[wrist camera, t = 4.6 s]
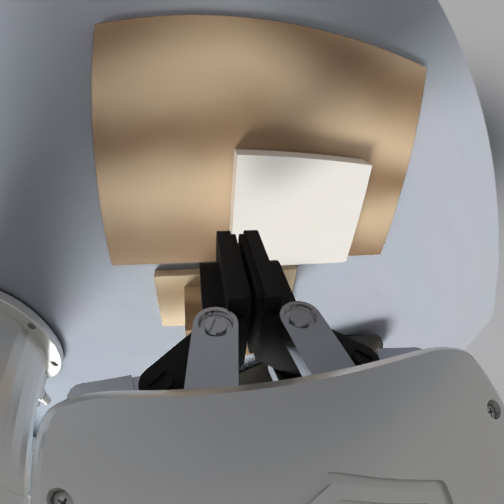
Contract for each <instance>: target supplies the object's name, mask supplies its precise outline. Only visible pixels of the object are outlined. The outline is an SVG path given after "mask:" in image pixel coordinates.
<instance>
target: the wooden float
mask: <svg viewBox="0 0 504 504" xmlns="http://www.w3.org/2000/svg"><path fill="white" fill-rule="evenodd" d="M281 267H282V269H283V272H284V274H285V276H286V279H287V281H288V284H289V286H290V288H291V291H292V290H293V285H294V281H295V276H296V272H297V269H296V267H295V265H281ZM154 279H155V285H156V291H157V297H158V303H159V308H160V314H161V319H162V324H163V326H181V325H185V330H186V336H188V335H189V334H190V333H191V332H192V326H193V321H194V318H195V316H196V315H197V314H198V313H199V312H200V311H202V305H201V290H200V268H199V269H175V270H155V274H154ZM253 354H254V353H253ZM245 355H250V353H249V350H248V346H247V348H246V354H245Z"/></svg>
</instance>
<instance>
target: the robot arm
mask: <svg viewBox="0 0 504 504" xmlns="http://www.w3.org/2000/svg"><path fill="white" fill-rule="evenodd" d="M200 290H201V305H202V311H200V312H199V313H198V314H197V315H196V316H195V318H194V321H193V326H192V332H191V333H190V334H189V335H188V336H186V337H185V338H184V339H183V340H182V341H180V342H179V343H178V344H177V345H176V346H174V347H173V348H172V349H171V350H170V351H168V352H167V353H166V354H165V355H164V356H162V357H161V358H160V359H159V360H158V361H156V362H155V363H154V364H153V365H151V366H150V367H149V368H148V369H147V370H145V371H144V373H143V374H142V375H141V376H138V377H133V378H132V377H131V375H129V376H123V377H118V378H112V379H106V380H100V381H94V382H88V383H81V384H78V385H75V386H74V387H73V388H72V389H71V390H70V391H69V393H68V395H67V399H66V400H64V401H62V402H60V403H58V404H56V405H54V406H53V407H51V408H50V409H49V410H48V411H47V412H46V414H45V415H44V417H43V418H42V421H41V423H40V425H39V429H38V432H37V436H36V440H35V445H34V451H33V458H32V469H31V504H504V404H503V402H502V400H501V399H500V397H499V395H498V393H497V391H496V390H495V388H494V386H493V385H492V383H491V381H490V380H489V378H488V376H487V375H486V373H485V372H484V371H483V369H482V368H481V366H480V365H479V364H478V363H477V361H476V360H475V359H474V358H473V357H472V356H471V355H470V354H469V353H468V352H466V351H464V350H461V349H457V348H450V347H434V348H427V349H420V348H415V347H413V348H377V349H376V351H374V350H373V349H371V348H369V347H368V346H366V345H364V344H362V343H360V342H357V341H355V340H353V339H351V338H349V337H347V336H345V335H343V334H341V333H339V332H337V331H334V330H332V329H331V328H330V327H329V325H328V324H327V322H326V321H325V319H324V318H323V316H322V315H321V314H320V312H319V311H318V310H317V309H316V308H315V307H314V306H312V305H311V304H309V303H306V302H301V301H296V300H295V298H294V295H293V293H292V291H291V288H290V286H289V284H288V281H287V279H286V276H285V274H284V272H283V269H282V267H281V265H280V262H279V261H278V260H269V258H268V255H267V252H266V250H265V247H264V245H263V242H262V240H261V237H260V234H259V232H258V230H244V232H243V234H239V237H238V242H237V238H236V234H231V232H230V231H217V232H216V263H200ZM247 346H248V350H249V353H250V354H253V353H254V356H255V360H256V361H262V362H263V363H265V364H267V365H268V370H269V373H270V375H271V377H272V380H273V381H271V382H264V383H256V384H247V385H239V373H238V369H239V368H240V367H241V366H242V365H243V364H244V359H245V354H246V348H247ZM63 358H64V357H63V350H62V347H61V344H60V342H59V340H58V338H57V337H56V335H55V334H54V332H53V331H52V330H51V328H50V327H49V326H48V325H47V324H46V323H45V322H44V321H43V320H42V318H41V317H39V316H38V315H37V314H36V313H35V312H34V311H33V310H31V309H30V308H29V307H27V306H26V305H25V304H23V303H22V302H21V301H19V300H17V299H15V298H14V297H12V296H10V295H8V294H6V293H4V292H2V291H0V504H28V477H29V462H30V452H31V443H32V436H33V429H34V422H35V417H36V411H37V407H38V406H39V405H40V401H41V402H42V403H43V404H45V405H48V404H49V403H50V401H51V398H50V396H49V395H48V394H47V393H46V391H45V390H44V387H45V383H46V378H49V377H52V376H54V375H56V374H57V373H58V372H59V371H60V369H61V367H62V363H63Z"/></svg>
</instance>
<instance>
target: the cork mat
mask: <svg viewBox="0 0 504 504" xmlns="http://www.w3.org/2000/svg"><path fill="white" fill-rule="evenodd" d="M426 69H427V68H426V67H424V66H422V65H420V64H418V63H416V62H413V61H411V60H409V59H406V58H404V57H402V56H399V55H397V54H394V53H392V52H389V51H387V50H384V49H381V48H379V47H376V46H373V45H370V44H367V43H364V42H361V41H358V40H355V39H352V38H348V37H345V36H341V35H338V34H334V33H330V32H327V31H323V30H318V29H314V28H310V27H305V26H300V25H295V24H290V23H284V22H278V21H271V20H264V19H256V18H247V17H235V16H219V15H168V16H152V17H141V18H132V19H124V20H117V21H111V22H105V23H99V24H95V30H94V41H93V57H92V127H93V143H94V156H95V166H96V175H97V184H98V191H99V199H100V205H101V212H102V218H103V224H104V229H105V234H106V240H107V245H108V249H109V254H110V259H111V263H112V265H135V264H164V263H192V262H216V232H217V231H229V225H230V208H231V191H232V176H233V161H234V149H245V150H269V151H285V152H299V153H311V154H321V155H331V156H340V157H348V158H356V159H362V160H364V161H366V162H367V163H369V164H370V165H372V169H371V173H370V177H369V181H368V185H367V189H366V193H365V197H364V201H363V205H362V208H361V212H360V216H359V219H358V223H357V226H356V230H355V233H354V237H353V240H352V243H351V247H350V250H349V253H348V256H354V255H374V254H381V251H382V248H383V245H384V243H385V240H386V237H387V234H388V231H389V228H390V225H391V222H392V219H393V216H394V213H395V209H396V206H397V203H398V200H399V196H400V193H401V189H402V186H403V182H404V179H405V175H406V171H407V167H408V163H409V159H410V155H411V151H412V147H413V143H414V138H415V134H416V129H417V124H418V119H419V114H420V108H421V103H422V97H423V90H424V84H425V77H426Z"/></svg>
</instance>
